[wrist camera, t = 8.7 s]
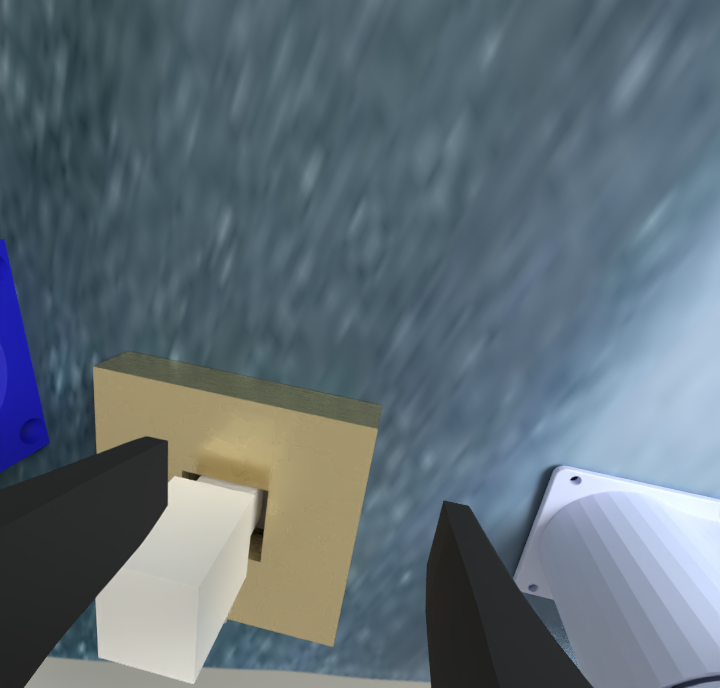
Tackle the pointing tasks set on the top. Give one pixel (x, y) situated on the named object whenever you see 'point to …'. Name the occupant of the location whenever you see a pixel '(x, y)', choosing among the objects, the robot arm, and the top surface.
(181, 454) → the socket plate
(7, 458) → the cable clip
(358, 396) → the top surface
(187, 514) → the plug
